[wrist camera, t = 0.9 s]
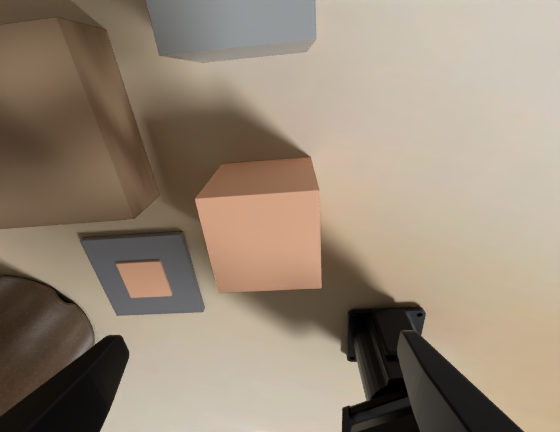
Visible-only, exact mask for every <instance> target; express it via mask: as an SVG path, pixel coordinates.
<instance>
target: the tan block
mask: <svg viewBox="0 0 560 432" xmlns="http://www.w3.org/2000/svg"><path fill="white" fill-rule="evenodd" d="M159 196H160V195H159V192H158V189H157V186H156V183H155V179H154V176H153V173H152V170H151V167H150V164H149V161H148V158H147V155H146V152H145V148H144V145H143V142H142V139H141V136H140V133H139V130H138V127H137V124H136V121H135V117H134V114H133V111H132V108H131V105H130V102H129V99H128V96H127V93H126V90H125V86H124V83H123V80H122V77H121V74H120V71H119V68H118V65H117V62H116V59H115V55H114V52H113V49H112V46H111V43H110V40H109V37H108V34H107V31H106V30H105V29H101V28H97V27H93V26H89V25H85V24H81V23H77V22H74V21H70V20H66V19H62V18H58V17H53V18H46V19H38V20H31V21H23V22H16V23H8V24H1V25H0V229H8V228H21V227H34V226H47V225H60V224H73V223H87V222H100V221H113V220H126V219H135V218H136V217H137V216H138V215H139V214H140V213H141V212H142V211H143V210H144V209H145V208H147V207H148V206H149V205H150V204H151V203H152V202H153V201H154V200H155V199H156V198H157V197H159Z"/></svg>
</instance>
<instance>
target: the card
mask: <svg viewBox="0 0 560 432" xmlns="http://www.w3.org/2000/svg"><path fill="white" fill-rule="evenodd" d="M80 242H81V244H82V246H83V248H84V250H85V252H86V254H87V256H88V258H89V260H90V262H91V264H92V266H93V268H94V270H95V272H96V274H97V276H98V278H99V280H100V283H101V285H102V287H103V289H104V291H105V293H106V295H107V297H108V299H109V301H110V303H111V305H112V307H113V309H114V311H115V313H116V315H117V316H120V315H144V314H169V313H193V312H203V311H204V309H205V307H204V303H203V300H202V296H201V293H200V290H199V286H198V283H197V279H196V276H195V272H194V269H193V265H192V262H191V258H190V255H189V251H188V248H187V245H186V241H185V238H184V234H183V231H181V232H165V233H148V234H132V235H116V236H100V237H84V238H83V239H82V240H80Z"/></svg>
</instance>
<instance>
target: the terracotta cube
mask: <svg viewBox="0 0 560 432" xmlns="http://www.w3.org/2000/svg"><path fill="white" fill-rule="evenodd" d="M195 202H196V206H197V210H198V214H199V218H200V222H201V226H202V230H203V234H204V238H205V242H206V246H207V250H208V254H209V258H210V262H211V266H212V270H213V274H214V278H215V282H216V286H217V290H218V293H228V292H250V291H273V290H295V289H317V288H322V281H321V238H320V195H319V187H318V183H317V179H316V175H315V171H314V168H313V164H312V160H311V157H304V158H291V159H278V160H265V161H253V162H240V163H227V164H221V166H220V167H219V168H218V170H217V171H216V172H215V173H214V175H213V176H212V177H211V179H210V180H209V181H208V182H207V184H206V185H205V186H204V188H203V189H202V190H201V191H200V193H199V194H198V195H197V197H196V198H195Z"/></svg>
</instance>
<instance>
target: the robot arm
mask: <svg viewBox="0 0 560 432" xmlns="http://www.w3.org/2000/svg"><path fill="white" fill-rule="evenodd" d="M353 315H355V316H353ZM425 315H426V313H425V311H424V310H423V308H421V307H407V308H382V309H357V310H351V311H349V312H348V324H347V352H346V355H347V360H348V361H350V362H357V363H358V367H359V371H360V376H361V380H362V384H363V388H364V392H365V397H366V401H365V402H362V403H359V404H356V405H353V406H346V407H343V409H342V432H524V431H523V430H522V429H521V428H520V427H518V426H517V425H516V424H515V423H514V422H513V421H512V420H511V419H510V418H509V417H508V416H507V415H506V414H504V413H503V412H502V411H501V410H500V409H499V408H498V407H497V406H496V405H495V404H494V403H493V402H492V401H490V400H489V399H488V398H487V397H486V396H485V395H484V394H483V393H482V392H481V391H480V390H479V389H478V388H477V387H475V386H474V385H473V384H472V383H471V382H470V381H469V380H468V379H467V378H466V377H465V376H464V375H463V374H461V373H460V372H459V371H458V370H457V369H456V368H455V367H454V366H453V365H452V364H451V363H450V362H449V361H447V360H446V359H445V358H444V357H443V356H442V355H441V354H440V353H439V352H438V351H437V350H436V349H435V348H433V347H432V346H431V345H430V344H429V343H428V342H427V341H426V340H425V339H424V338H423V337H422V336H421V334H422V329H423V324H424V320H425ZM128 359H129V350H128V348H127V346H126V344H125V341H124V339H123V337H122V336H121V335H108V336H106V337H105V338H103V339H102V340H101V341H99V342H98V343H97V344H95V345H94V346H93V347H91V348H90V349H89V350H87V351H86V352H85V353H83V354H82V355H81V356H79V357H78V358H77V359H75V360H74V361H73V362H71V363H70V364H69V365H67V366H66V367H65V368H63V369H62V370H61V371H59V372H58V373H57V374H55V375H54V376H53V377H51V378H50V379H49V380H47V381H46V382H45V383H43V384H42V385H41V386H39V387H38V388H37V389H35V390H34V391H33V392H31V393H30V394H29V395H27V396H26V397H25V398H23V399H22V400H21V401H20V402H18V403H17V404H16V405H14V406H13V407H12V408H10V409H9V410H8V411H6V412H5V413H4V414H2V415H1V416H0V432H100V430H101V428H102V426H103V424H104V422H105V419H106V417H107V415H108V413H109V410H110V408H111V405H112V403H113V400H114V398H115V395H116V392H117V389H118V387H119V384H120V381H121V378H122V376H123V373H124V370H125V367H126V364H127V362H128Z"/></svg>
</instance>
